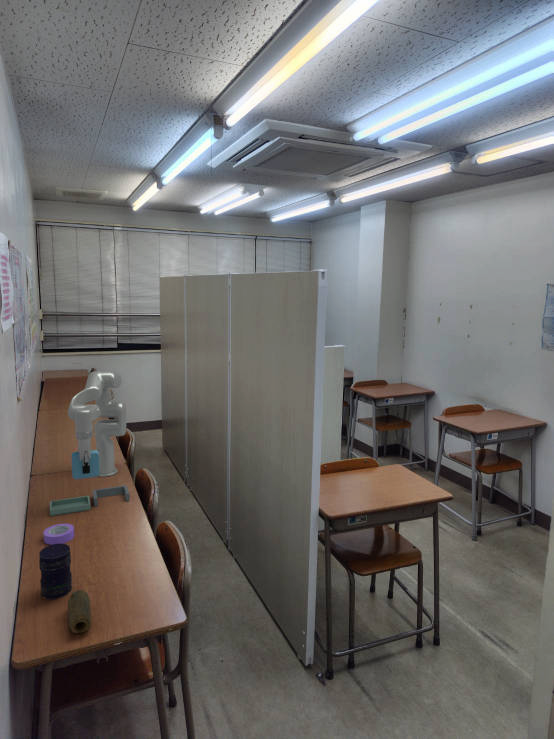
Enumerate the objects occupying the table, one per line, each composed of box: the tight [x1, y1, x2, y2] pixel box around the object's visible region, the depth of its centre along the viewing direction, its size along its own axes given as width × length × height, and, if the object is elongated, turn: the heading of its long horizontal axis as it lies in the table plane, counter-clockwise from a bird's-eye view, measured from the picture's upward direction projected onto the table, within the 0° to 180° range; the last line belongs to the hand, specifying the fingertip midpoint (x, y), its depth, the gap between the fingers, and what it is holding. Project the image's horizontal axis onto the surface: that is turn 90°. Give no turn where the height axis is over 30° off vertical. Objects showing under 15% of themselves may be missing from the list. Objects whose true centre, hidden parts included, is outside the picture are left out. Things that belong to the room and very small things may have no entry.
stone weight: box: [67, 589, 92, 634], centre depth 149 cm, size 15×7×7 cm, turn 29°
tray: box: [49, 495, 92, 517], centre depth 226 cm, size 11×18×3 cm, turn 115°
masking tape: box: [43, 523, 75, 546], centre depth 199 cm, size 12×12×4 cm
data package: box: [71, 449, 100, 480], centre depth 223 cm, size 12×4×12 cm, turn 114°
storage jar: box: [38, 543, 73, 600], centre depth 162 cm, size 10×10×15 cm
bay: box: [92, 484, 131, 507], centre depth 237 cm, size 12×16×4 cm
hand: (85, 470), depth 224 cm, fingers closed on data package, 4 cm apart
